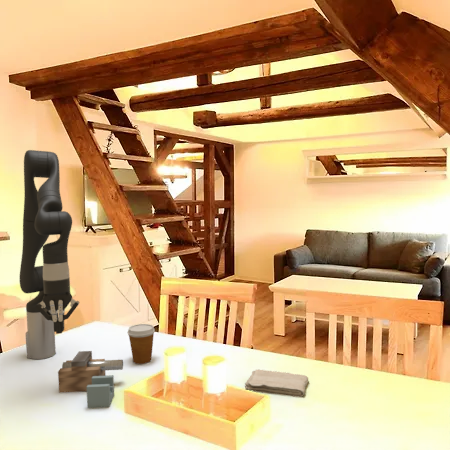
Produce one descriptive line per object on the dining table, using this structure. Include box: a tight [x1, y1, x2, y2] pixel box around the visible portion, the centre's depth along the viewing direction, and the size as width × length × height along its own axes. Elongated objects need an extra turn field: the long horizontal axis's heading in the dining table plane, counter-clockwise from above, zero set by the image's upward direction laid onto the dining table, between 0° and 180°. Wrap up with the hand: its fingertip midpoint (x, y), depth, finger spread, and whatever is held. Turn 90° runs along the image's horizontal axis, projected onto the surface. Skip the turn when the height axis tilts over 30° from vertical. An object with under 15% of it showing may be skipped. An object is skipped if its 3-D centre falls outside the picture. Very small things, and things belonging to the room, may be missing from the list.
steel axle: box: [61, 359, 124, 372], centre depth 139 cm, size 18×3×3 cm, turn 94°
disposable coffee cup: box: [127, 323, 156, 365], centre depth 158 cm, size 10×10×12 cm
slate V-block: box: [86, 374, 115, 409], centre depth 128 cm, size 6×7×6 cm
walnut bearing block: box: [57, 350, 106, 394], centre depth 138 cm, size 12×9×9 cm
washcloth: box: [244, 369, 309, 398], centre depth 136 cm, size 12×18×3 cm, turn 72°
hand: (59, 332), depth 137 cm, fingers closed
